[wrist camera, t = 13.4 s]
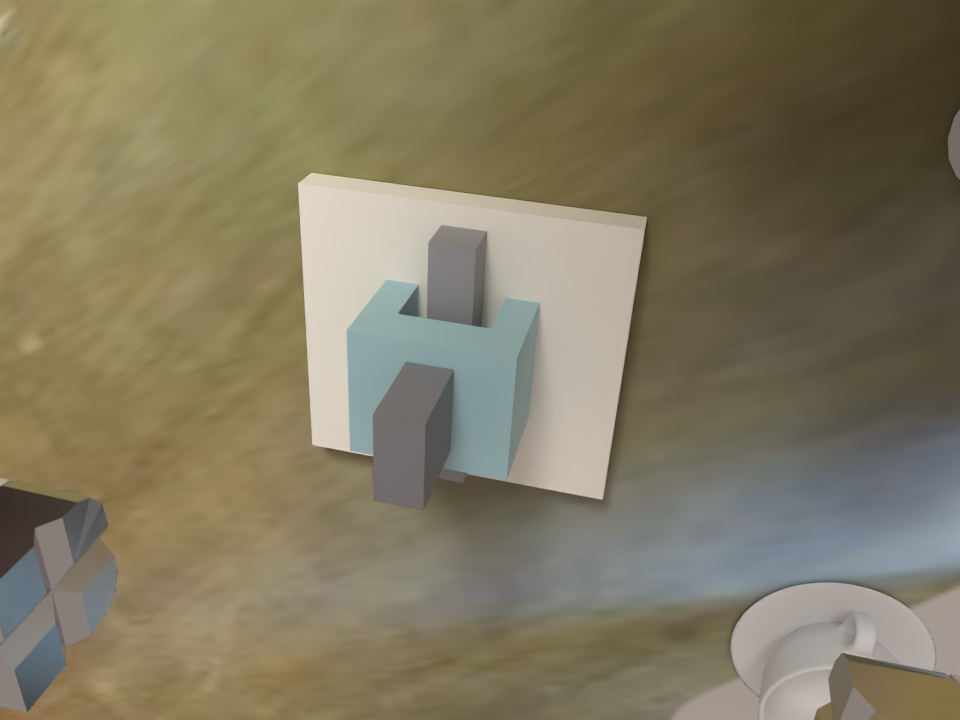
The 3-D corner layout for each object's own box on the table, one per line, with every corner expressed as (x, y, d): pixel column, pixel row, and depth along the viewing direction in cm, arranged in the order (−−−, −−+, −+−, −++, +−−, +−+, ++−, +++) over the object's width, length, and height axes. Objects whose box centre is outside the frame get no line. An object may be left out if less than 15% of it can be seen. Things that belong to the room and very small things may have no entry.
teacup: (897, 733, 48) (913, 812, 44) (712, 688, 50) (711, 760, 46) (964, 601, 43) (988, 677, 39) (755, 556, 45) (758, 624, 41)
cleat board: (311, 172, 40) (278, 198, 37) (647, 216, 37) (640, 248, 34) (323, 428, 47) (296, 467, 44) (605, 481, 44) (597, 526, 41)
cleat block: (386, 279, 40) (306, 380, 32) (539, 302, 39) (494, 412, 31) (386, 392, 43) (314, 508, 35) (528, 417, 42) (485, 542, 34)
